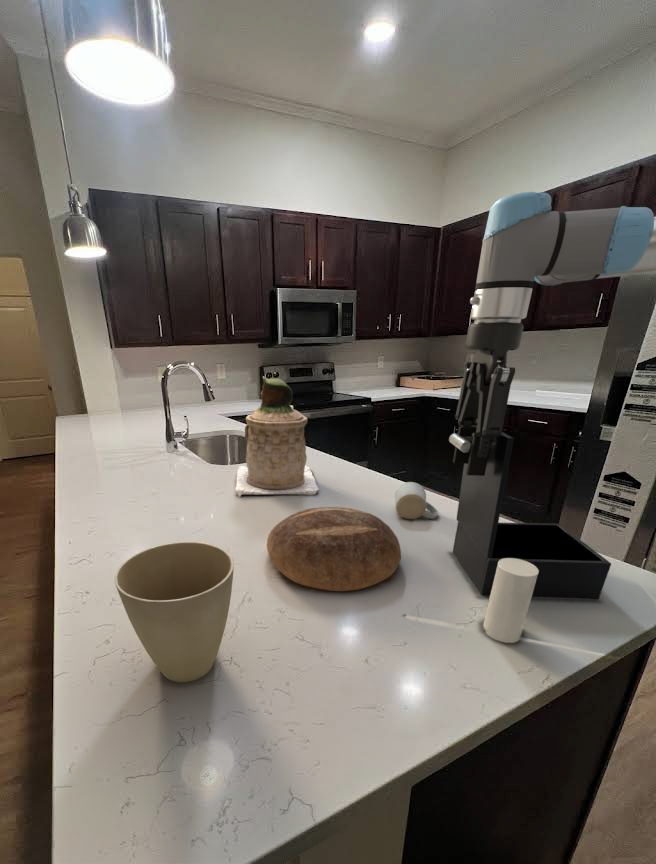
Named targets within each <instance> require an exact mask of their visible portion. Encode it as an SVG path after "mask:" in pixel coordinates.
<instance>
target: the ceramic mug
mask: <svg viewBox="0 0 656 864" xmlns="http://www.w3.org/2000/svg"><path fill="white" fill-rule="evenodd" d="M394 502H395V510H396V512H397V514H398V515H399V516H400V517H401V518H403V519H406V520H414V519H415V520H417V519H419V518H421V517H422V516H423V517H425V518H427V519H429V520H434V519H436V518H437V517H438V515H439V511H438V509H437V508H436V507H435V506H434V505H433V504H431V503H429V501H427V494H426V490H425V488H424V487H423V486H422V485H421V484H419V483H417V482H415V481H414V482H413V481H406V482H403V483H401V484H400V485H399V486H398V487H397V489H396V490H395V493H394Z"/></svg>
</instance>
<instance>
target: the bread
mask: <svg viewBox="0 0 656 864" xmlns="http://www.w3.org/2000/svg"><path fill="white" fill-rule="evenodd" d="M266 549H267V553H268V556H269V559H270V561H271V563H272V565H273V567H275V568H276V569H277V570H278V571H279V572H280V573H281V575H284V576H285V577H286V578H287V579H288V580H290V581H292V582H294V583H296V584H298V585H301V586H304V587H308V588H312V589H318V590H323V591H331V592H349V591H351V592H352V591H358V590H361V589H366V588H368V587H372V586H374V585H376V584H379V583H381V582H383V581H384V580H386V579H388V578H390V577H391V576H392V575H393V574H394V573H395V572H396V570H397V568H398V566H399V564H400V561H401V559H402V554H401V553H402V552H401V551H402V550H401V544H400V542H399V539H398V537H397V535H396V534H395V532H394V531H393V530H392V528H391V527H390V525H388V524H387V523H386V522H384V521H383V520H382V519H381V518H379V517H377V516H376V515H374V514H372V513H370V512H366V511H363V510H359V509H356V508H355V509H354V508H349V507H338V506H337V507H334V506H325V507H321V506H320V507H314V508H308V509H304V510H300V511H298V512H296V513H293V514H291V515H289V516H287V517H286V518H283V520H281V521H279V522H278V523H277V524H276V525H275V526H274V527H272V528H271V530H270V532H269V534H268V536H267V538H266Z"/></svg>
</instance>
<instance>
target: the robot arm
mask: <svg viewBox="0 0 656 864" xmlns="http://www.w3.org/2000/svg"><path fill="white" fill-rule="evenodd" d="M552 208H553V207H552V196H551V195H550V194H549V193H548V192H542V191H540V192H535V191H526V192H519V193H513V194H509V195H506V196H504V197H501V198H499V199H498V200H497V201H495V202H494V203H493V204H492V206H491V207H490V209H489V212H488V217H487V222H486V225H485V226H486V227H485V230H484V236H483V239H482V245H481V252H480V258H479V264H478V269H477V276H476V282H475V289H474V290H475V291H474V295H473V296H472V297H471V298H470V299H469V303H470V305H472V307H471V313H470V319H471V320H474V321H473V323H470V325H469V326H468V328H467V334H466V339H465V345H464V346H465V348H466V349H467V350H470V351H471V350H472V351H474V355H473V357H472V361H465V362H464V365H463V376H462V382H461V387H460V391H459V397H458V403H457V406H456V411H455V412H456V413H455V420H456V421H457V420H458V422H457V423H458V430H457V434H458V435H459V436H461V437H467V436H473V440H472V441H468V442H470V443H471V444H472V445H471V450H470V451H469V452H462V451H461V450H459V449H458V448H457V447H455V446H454V453H453V459H452V463H453V464H462V465H464V464H468V466H467V471H466V474H467V475H475V476H484V475H485V471H486V466H487V461H488V457H489V452H490V447H491V443H492V438H493V437H495V436H500V435H501V433H502V432H503V429H504V423H505V419H506V412H507V407H508V402H509V397H510V392H511V391H510V390H511V385H512V382H513V380H514V377H515V374H516V367H515V366H513V367H511V366H510V367H508V366H507V362H508V361H507V360H508V358H507V357H508V352H509V351H516V350H518V349H519V348H520V345H521V340H522V336H523V331H524V327H525V326H524V324H523V323H522V320H524V319H526V318H527V316H528V310H529V306H530V302H531V298H532V292H533V286H534V282H536V283H537V284H540V285H543V286H558V285H561V284H565V283H574V282H582V281H591V280H598V279H607V278H617V277H625V276H635V275H644V274H645V275H647V274H655V273H656V216H655V214H654V212H653V211H652V209H651V208H649V207H646V206H640V207H638V206H626V205H622V206H620V207H611V208H598V209H596V208H595V209H584V210H583V209H582V210H570V211H557V210H552ZM476 419H477V420H478V421H477V420H476ZM471 426H477V427H471ZM476 428H477V433H476Z"/></svg>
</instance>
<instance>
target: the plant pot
mask: <svg viewBox="0 0 656 864" xmlns="http://www.w3.org/2000/svg"><path fill="white" fill-rule="evenodd" d="M234 568H235V561H234V558H233V556H232V555H231V554H230V553H229V552H228V551H227V550H226V549H224V548H222V547H220V546H218V545H215V544H213V543H208V542H202V541H178V542H177V541H175V542H169V543H164V544H159V545H156V546H152V547H149V548H146V549H144V550H142V551H139V552H138V553H136V554H135V553H134V555H132V556H130V557H129V558H127V559H126V560H125V561H124V562H123V563H121V565H119V567H118V569H117V570H116V572H115V574H114V584H115V588H116V590H117V592H118V595H119V598H120V600H121V603H122V605H123V608H124V610H125V613H126V615H127V617H128V620H129V623H130V624H131V626H132V628H133V630H134V632H135V634H136V636H137V637H138V639H139V641H140V643H141V645H142V646H143V648H144V649H145V651H146V653H147V654H148V656H149V658H150V659H151V661H152V662H153V663H154V664H155V666H156V667H157V669H158V670H159V671H160V672H161V674H162V675H163V676H164V677H165V678H166V679H168V680H169V681H172V682H176V683H190V682H194V681H196V680H199V679H201V678H203V677H204V676H206V675H207V674H208V673H209V672H210V671H211V669H212V668H213V666H214V663H215V661H216V659H217V655H218V653H219V650H220V648H221V644H222V640H223V637H224V633H225V630H226V627H227V626H226V625H227V621H228V615H229V610H230V605H231V597H232V591H233V579H234Z"/></svg>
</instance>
